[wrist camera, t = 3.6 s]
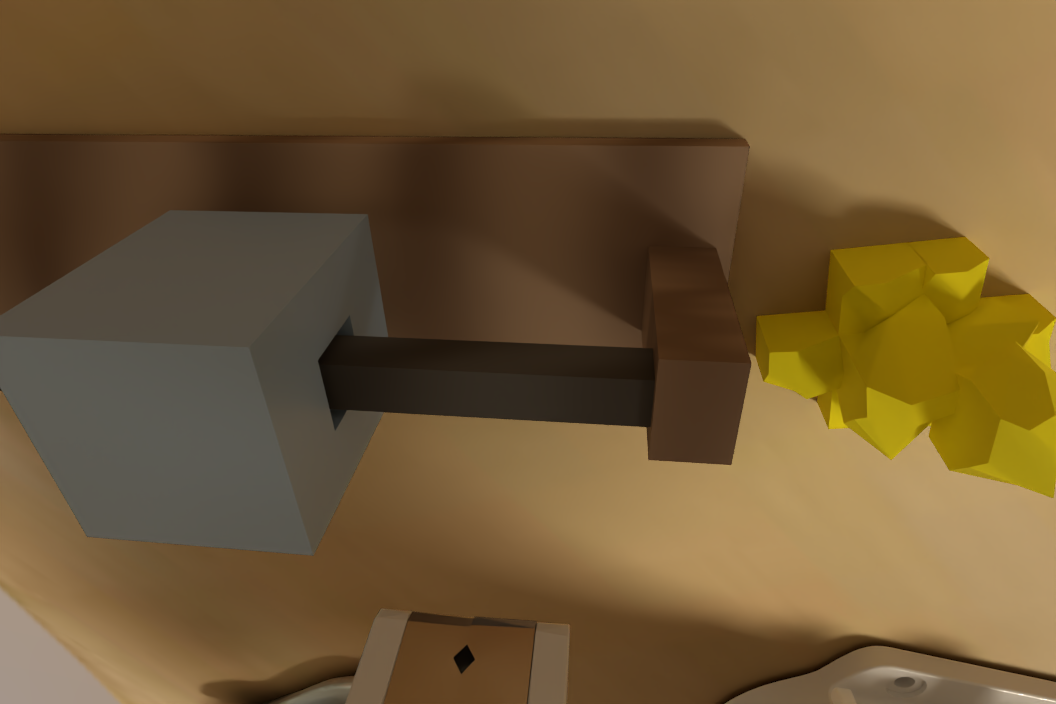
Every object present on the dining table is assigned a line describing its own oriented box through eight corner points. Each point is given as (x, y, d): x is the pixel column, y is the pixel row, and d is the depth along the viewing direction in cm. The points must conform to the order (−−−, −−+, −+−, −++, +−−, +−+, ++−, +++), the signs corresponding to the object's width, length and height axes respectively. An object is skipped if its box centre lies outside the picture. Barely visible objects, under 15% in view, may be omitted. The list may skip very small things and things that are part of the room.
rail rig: (744, 138, 18) (819, 262, 11) (705, 393, 23) (741, 586, 16) (-201, 132, 22) (-575, 224, 15) (-62, 355, 27) (-296, 500, 20)
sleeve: (367, 214, 18) (248, 347, 12) (396, 386, 21) (313, 555, 16) (169, 209, 19) (-31, 334, 13) (227, 377, 22) (86, 536, 16)
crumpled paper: (757, 256, 20) (821, 408, 14) (1044, 227, 19) (1267, 383, 12) (753, 403, 23) (805, 584, 17) (1000, 389, 22) (1160, 582, 15)
